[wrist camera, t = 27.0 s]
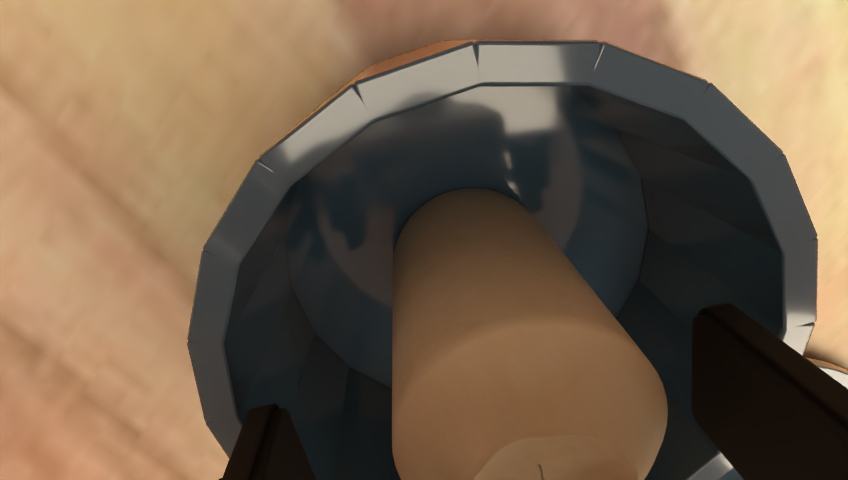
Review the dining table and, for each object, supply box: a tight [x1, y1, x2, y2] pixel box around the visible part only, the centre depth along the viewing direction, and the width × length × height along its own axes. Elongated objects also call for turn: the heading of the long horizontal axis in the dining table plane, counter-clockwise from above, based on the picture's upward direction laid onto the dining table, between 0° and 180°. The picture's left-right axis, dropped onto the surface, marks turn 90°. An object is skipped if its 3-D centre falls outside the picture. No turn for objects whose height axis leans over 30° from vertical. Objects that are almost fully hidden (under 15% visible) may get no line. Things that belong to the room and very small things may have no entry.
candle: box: [392, 188, 668, 480], centre depth 13 cm, size 6×6×10 cm
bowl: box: [187, 40, 818, 480], centre depth 14 cm, size 15×15×7 cm
